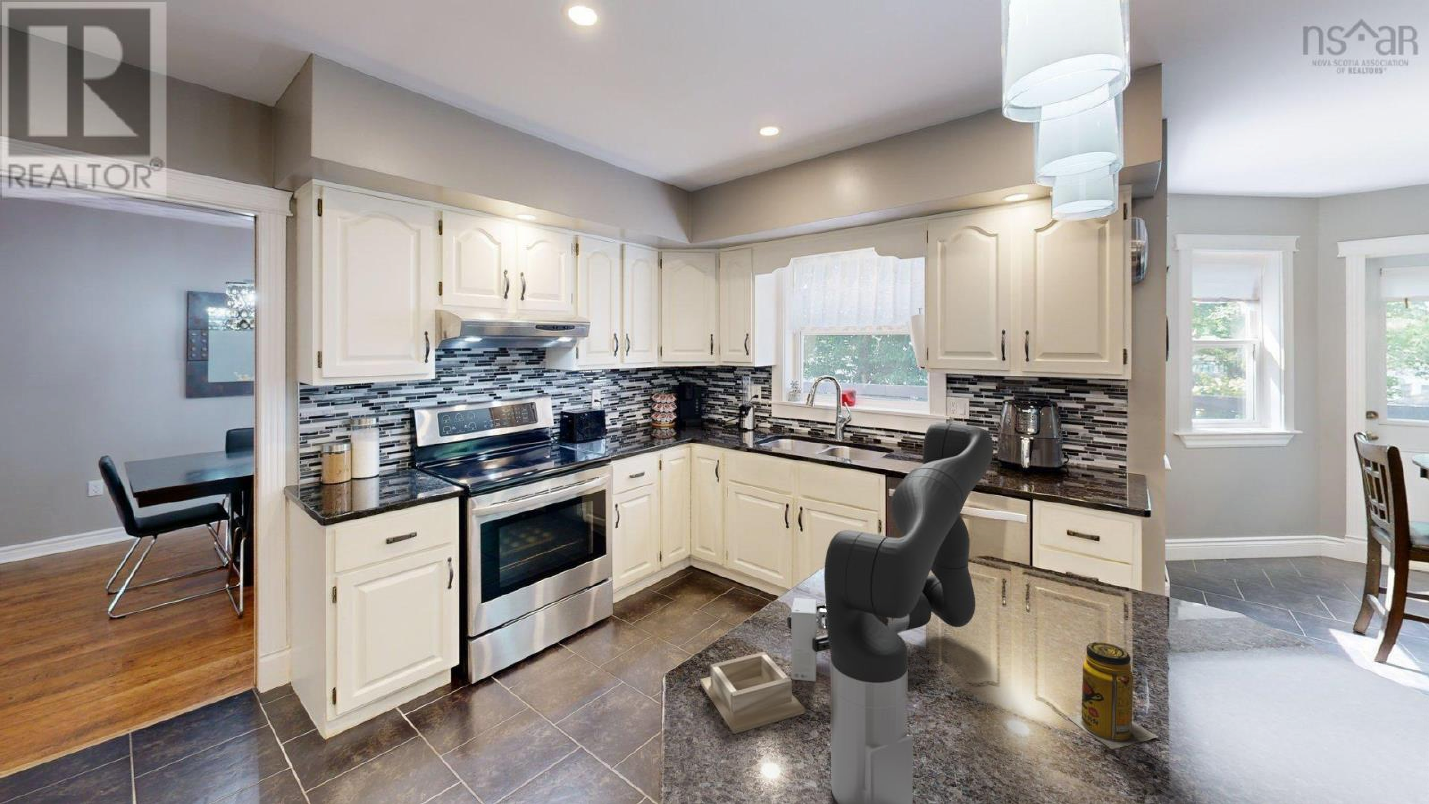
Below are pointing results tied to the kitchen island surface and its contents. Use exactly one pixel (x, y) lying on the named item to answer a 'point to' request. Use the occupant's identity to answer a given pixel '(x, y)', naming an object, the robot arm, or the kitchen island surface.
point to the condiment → (1109, 697)
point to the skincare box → (803, 639)
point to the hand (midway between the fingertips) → (800, 634)
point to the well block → (751, 692)
